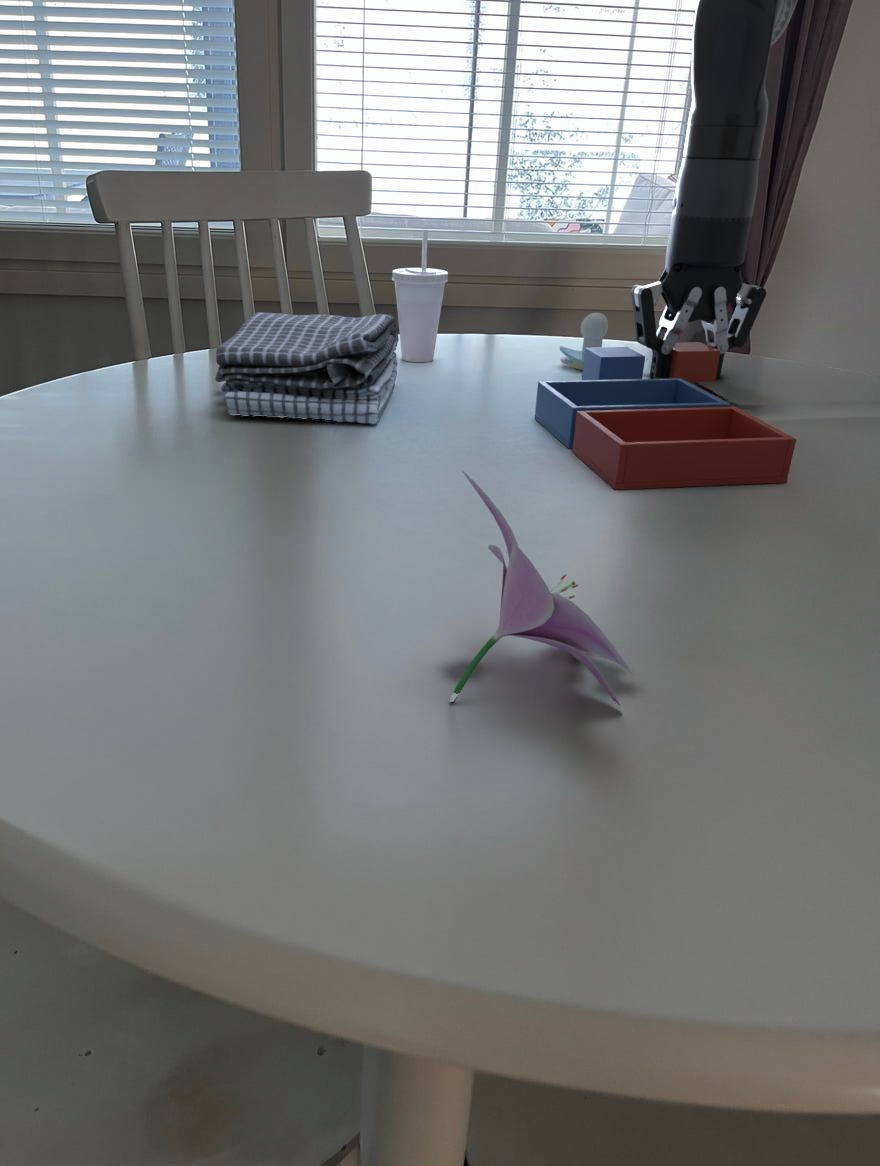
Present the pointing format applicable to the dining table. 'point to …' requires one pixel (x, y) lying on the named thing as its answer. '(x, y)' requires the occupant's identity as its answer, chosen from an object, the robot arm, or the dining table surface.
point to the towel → (310, 366)
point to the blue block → (612, 364)
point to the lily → (541, 610)
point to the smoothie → (419, 307)
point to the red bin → (681, 447)
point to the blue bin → (612, 400)
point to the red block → (694, 363)
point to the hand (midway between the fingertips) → (683, 387)
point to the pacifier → (587, 339)
